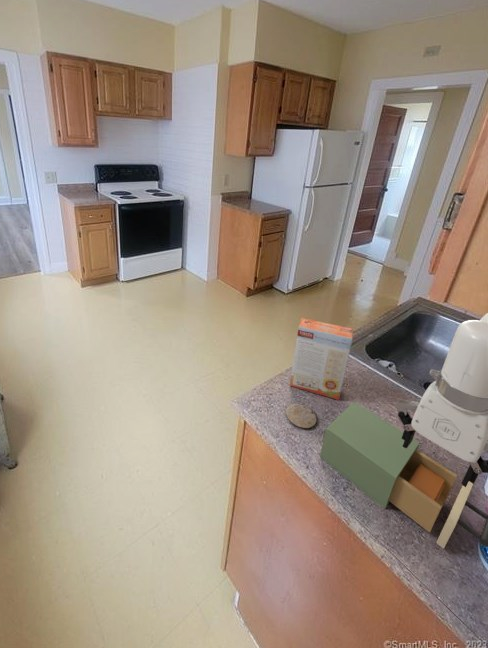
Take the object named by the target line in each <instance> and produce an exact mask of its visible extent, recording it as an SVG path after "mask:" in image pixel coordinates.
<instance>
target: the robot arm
mask: <svg viewBox="0 0 488 648" xmlns="http://www.w3.org/2000/svg"><path fill="white" fill-rule="evenodd" d="M428 376H429V377H430V378H432V379H434V381H432V383H430V384H429V385H428V387H427V388H426V389H425V391H424V393H423V394H422V397H421V398H420V400H419V402H418V401H414V400H413V401H412V400H408V399H407V400H406V399H397V400H396V402H395V407H396V411H397V417H398V418H399V420H400V421H401V424H402V425H403V426H402V428H403V429H404V430H403V432H404V433H403V436H402V439H403V440H405V441H404V444H403V447H404V448H407V447H408V446H409V445H410V443H411V442H412V440H413V438H414V437H415V434H416V433H417V434H419V435H420V436H422V437H423V438H426V439H427V440H429V441H430V442H432V443H434V444H436V445H437V446H439V447H441V448H442V449H444V450H445V451H447V452H449V453H450V454H452V455H454V456H455V457H457V458H459V459H460V460H463V461H465V462H467V463H469V466H468V468H467V470H466V473H465V474H464V476H463V478H462V481H461V483H460V484H461V485H462V486H464V487H466V486H467V484H468V482H469V481H470V482H471V483H473V485H474V484H475V482H476V480H477V479H478V477H479V475H482V474H483V473H484V474H488V459H485V458H484V456H483V452H484V450H485V452H486V453H488V312H487V313H485V314H484V315H483V316H481V318H480V319H479V320H478V319H468V320H465V321H463V322H461V323H460V324H459V325H458V326H457V328H456V331H455V332H454V336H453V338H452V342H451V343H450V346H449V349H448V351H447V355H446V357H445V360H444V362H443V365H442V368H441V369H440V370H436V369H433V368H431V369H430V371H429V373H428ZM408 411H413V412H414V414H413V415H412V416H413V417H411V416H410V413H409V412H408Z"/></svg>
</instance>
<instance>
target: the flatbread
mask: <svg viewBox="0 0 488 648" xmlns="http://www.w3.org/2000/svg"><path fill="white" fill-rule="evenodd" d="M285 416H286V417H287V419H288V421H290V422H291V423H292V424H293V425H295V426H297V427H299V428H302V429H310V428H312V427H314V426H315V425H316V424H317V415H316V414H315V412H314V411H313V410H312V409H311V408H309V407H307V406H305V405H303V404H300V403H290V404H289V405H288V406H287V408H286V410H285Z"/></svg>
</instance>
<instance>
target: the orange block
mask: <svg viewBox="0 0 488 648" xmlns="http://www.w3.org/2000/svg"><path fill="white" fill-rule="evenodd" d="M444 481H445V479H443V478H442V477H440V476H439V475H437V474H436V473H434V472H433V471H431V470H430V469H428V468H427V467H425V466H424V465H422V464H420V465H419V467H418V466H417V468H416V470H415V471H414V473H413V474H412V476H411V478H410V479H409V481H408V483H410V484H411V485H413V486H414V487H415V488H417V489H418V490H420V491H421V492H422V493H424V494H425V495H427V496H428V497H429V498H431V499H432V500H434V501H435V502H436V503H437V501H438V499H439V497H440V495H441V493H442V491H443V489H444V486H445V484H443V483H444Z"/></svg>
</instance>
